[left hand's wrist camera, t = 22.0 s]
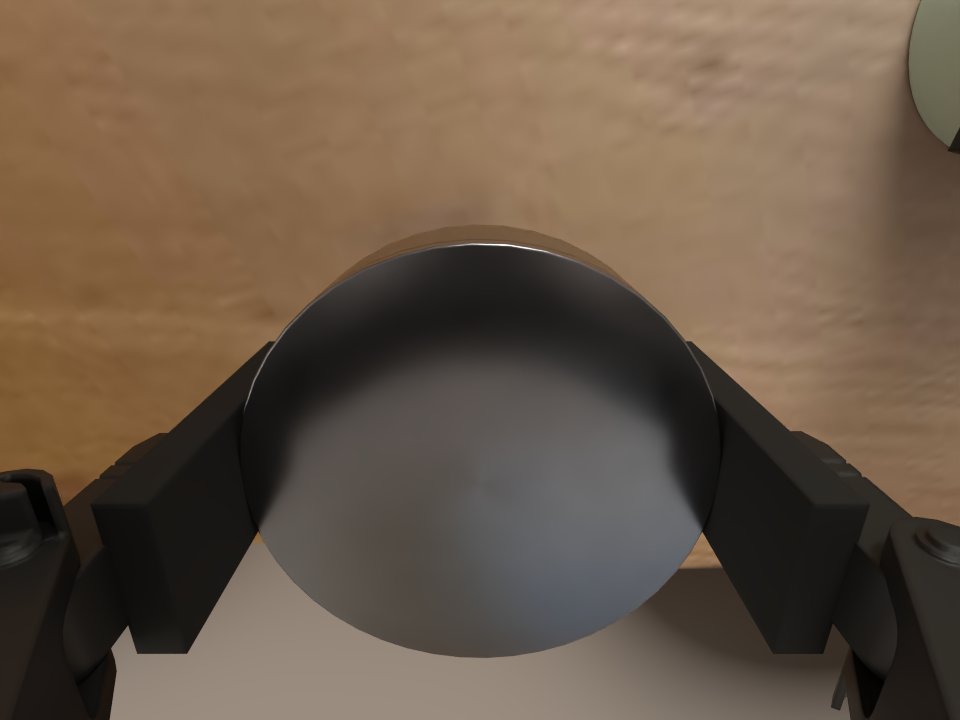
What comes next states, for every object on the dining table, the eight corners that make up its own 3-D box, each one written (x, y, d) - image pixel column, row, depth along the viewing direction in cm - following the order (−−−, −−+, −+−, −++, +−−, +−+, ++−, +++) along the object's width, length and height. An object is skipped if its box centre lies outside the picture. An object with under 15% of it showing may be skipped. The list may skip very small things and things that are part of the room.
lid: (518, 631, 14) (524, 715, 12) (213, 463, 13) (158, 528, 10) (764, 385, 12) (826, 436, 10) (425, 126, 10) (410, 118, 8)
